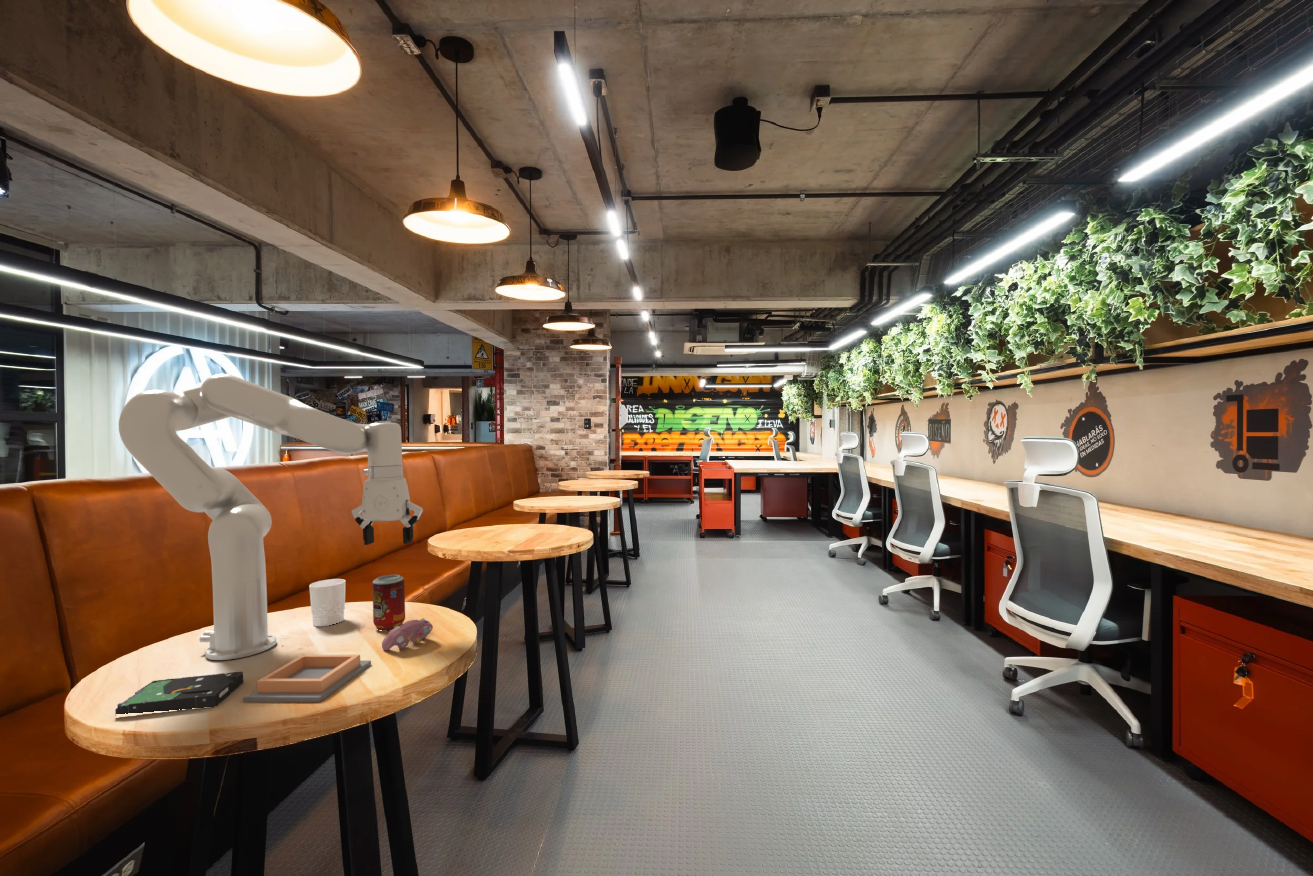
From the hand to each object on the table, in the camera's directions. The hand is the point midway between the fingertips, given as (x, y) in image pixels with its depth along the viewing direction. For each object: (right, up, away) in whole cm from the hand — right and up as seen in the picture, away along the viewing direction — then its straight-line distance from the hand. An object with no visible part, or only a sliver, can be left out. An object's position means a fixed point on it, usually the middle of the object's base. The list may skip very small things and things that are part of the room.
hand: (388, 543), depth 137 cm
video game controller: (+10, -21, -12) cm, 26 cm away
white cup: (-17, -21, +5) cm, 28 cm away
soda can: (0, -21, 0) cm, 21 cm away
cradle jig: (0, -21, -30) cm, 36 cm away
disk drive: (-20, -22, -36) cm, 46 cm away
